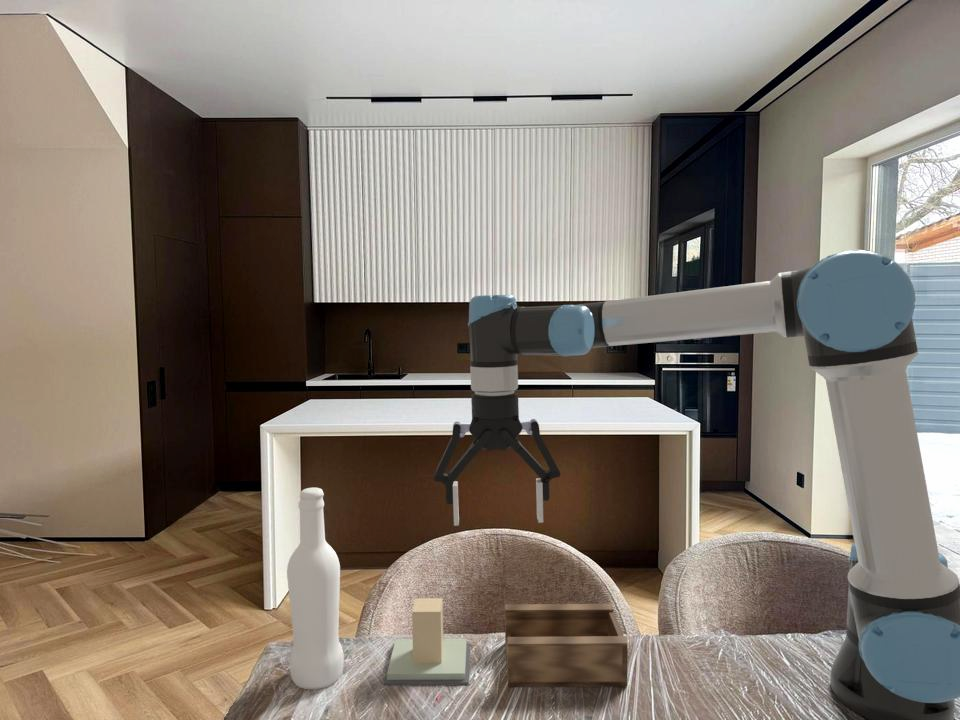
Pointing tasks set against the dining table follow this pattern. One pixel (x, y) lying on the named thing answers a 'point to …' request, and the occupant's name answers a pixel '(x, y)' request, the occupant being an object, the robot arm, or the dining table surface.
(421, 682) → the mat
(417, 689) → the dining table surface
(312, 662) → the bottle
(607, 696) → the dining table surface
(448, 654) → the lid
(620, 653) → the walnut box
